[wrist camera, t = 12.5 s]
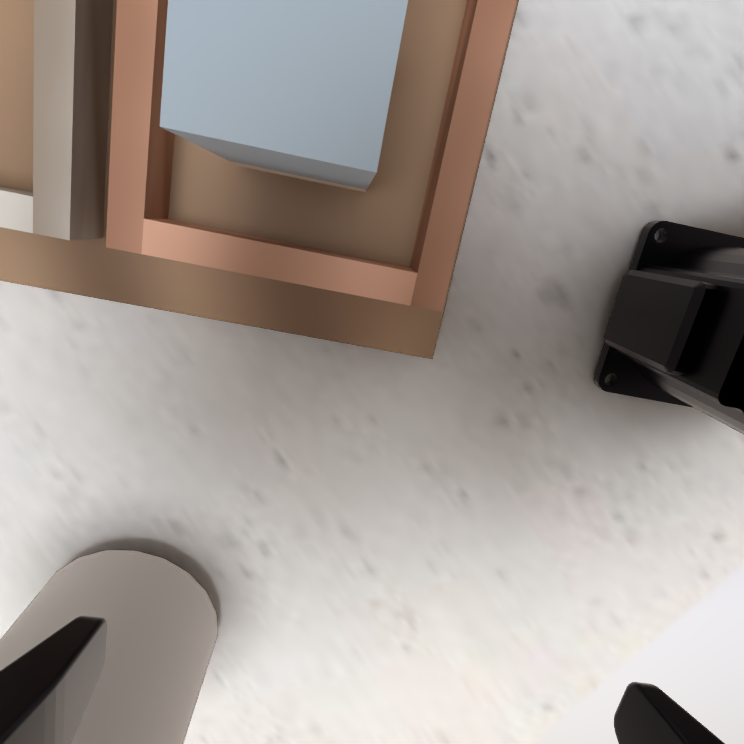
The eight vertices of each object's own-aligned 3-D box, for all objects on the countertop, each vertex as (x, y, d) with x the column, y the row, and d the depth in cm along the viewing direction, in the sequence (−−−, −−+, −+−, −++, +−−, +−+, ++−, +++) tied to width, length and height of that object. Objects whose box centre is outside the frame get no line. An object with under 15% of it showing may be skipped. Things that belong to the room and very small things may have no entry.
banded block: (389, 53, 15) (422, -81, 8) (364, 192, 16) (376, 172, 9) (256, 22, 15) (177, -146, 8) (240, 166, 16) (160, 126, 9)
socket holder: (528, -85, 15) (578, -169, 12) (426, 348, 19) (442, 375, 16) (-261, -304, 13) (-467, -482, 10) (-196, 234, 17) (-329, 238, 14)
